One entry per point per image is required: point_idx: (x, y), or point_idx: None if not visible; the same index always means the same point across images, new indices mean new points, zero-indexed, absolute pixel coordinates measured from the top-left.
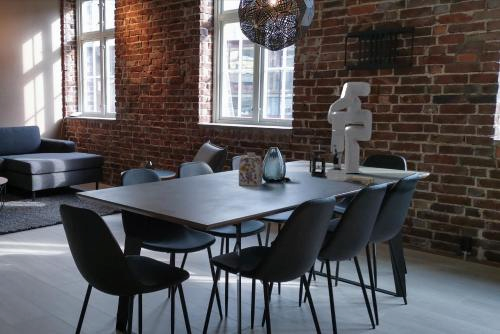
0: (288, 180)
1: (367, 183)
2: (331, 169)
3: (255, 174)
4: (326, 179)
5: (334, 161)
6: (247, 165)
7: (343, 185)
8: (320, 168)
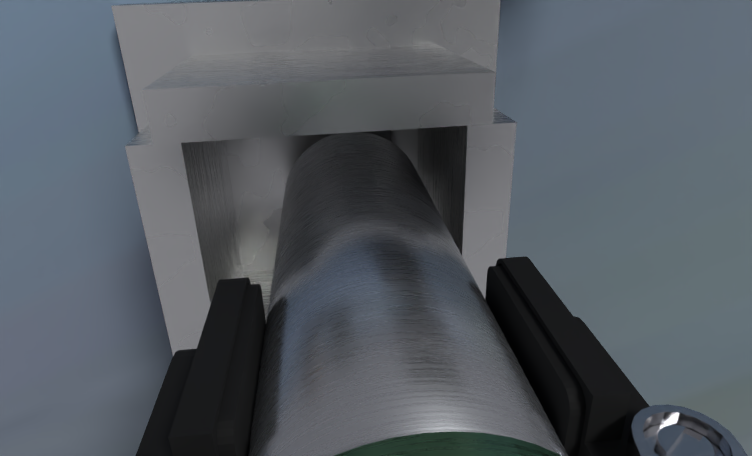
0: None
1: None
2: (304, 132)
3: None
4: (171, 52)
5: (170, 386)
6: None
7: (10, 415)
8: None
